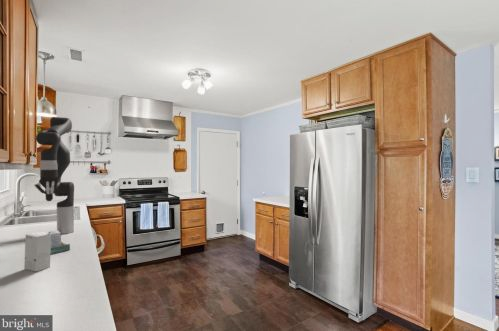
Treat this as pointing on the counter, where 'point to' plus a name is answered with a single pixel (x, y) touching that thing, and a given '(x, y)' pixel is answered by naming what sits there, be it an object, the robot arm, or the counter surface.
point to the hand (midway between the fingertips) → (49, 200)
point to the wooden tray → (60, 248)
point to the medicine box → (55, 238)
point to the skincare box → (37, 251)
